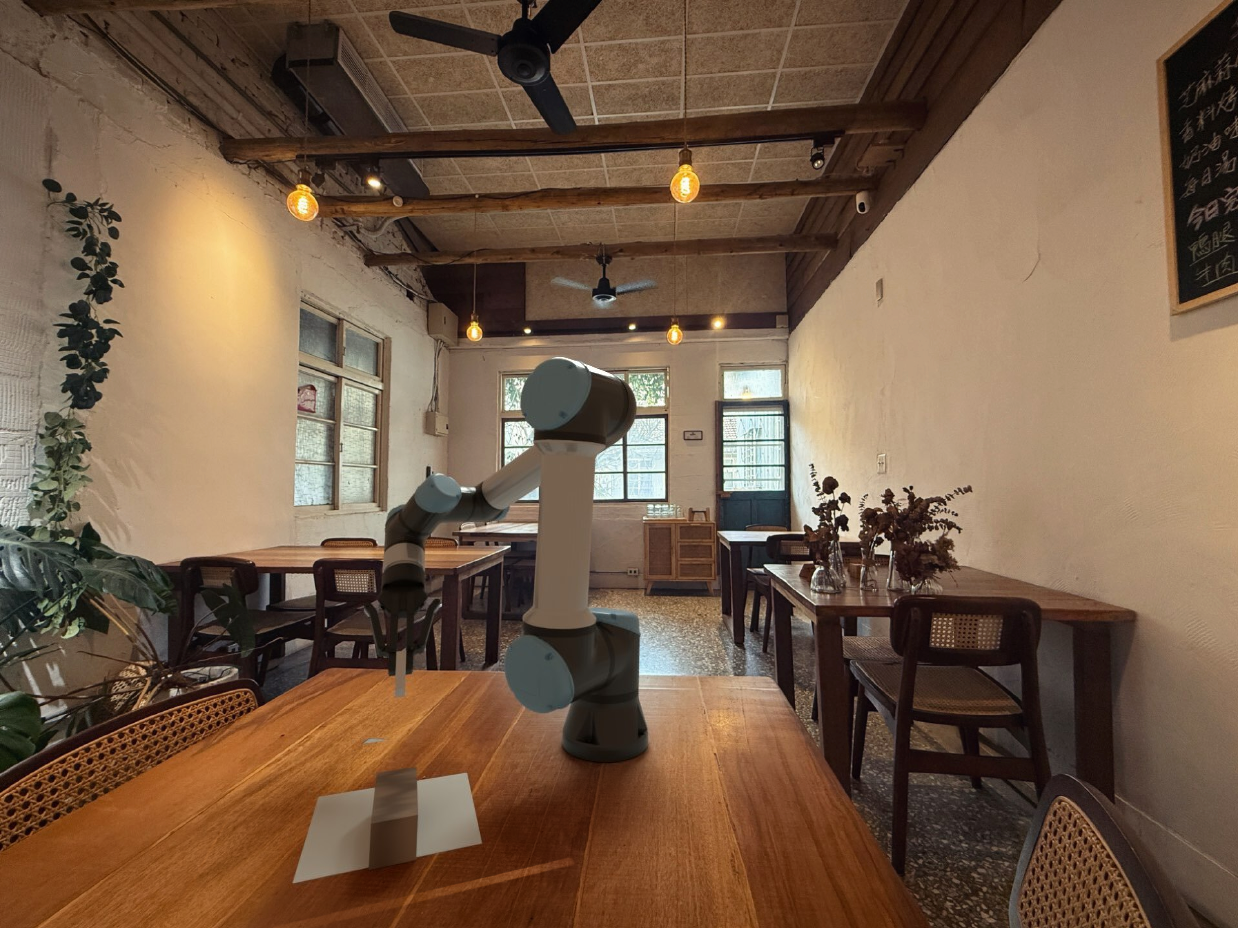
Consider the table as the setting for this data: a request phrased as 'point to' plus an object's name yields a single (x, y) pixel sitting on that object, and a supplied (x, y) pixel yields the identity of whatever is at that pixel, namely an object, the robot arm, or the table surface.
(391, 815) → the walnut block
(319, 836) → the mat
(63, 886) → the table surface
